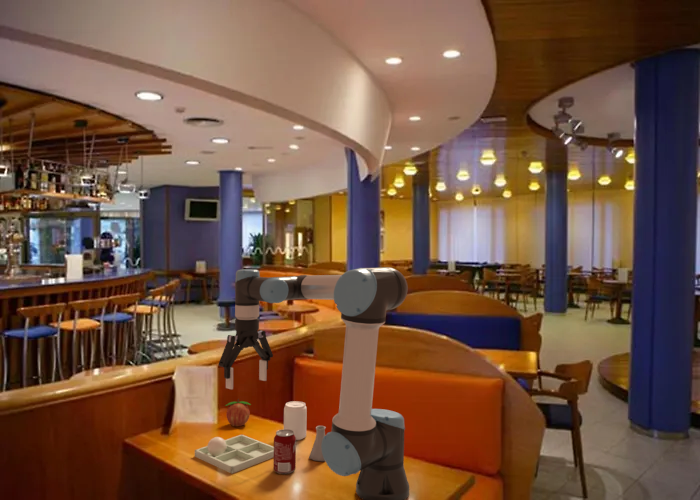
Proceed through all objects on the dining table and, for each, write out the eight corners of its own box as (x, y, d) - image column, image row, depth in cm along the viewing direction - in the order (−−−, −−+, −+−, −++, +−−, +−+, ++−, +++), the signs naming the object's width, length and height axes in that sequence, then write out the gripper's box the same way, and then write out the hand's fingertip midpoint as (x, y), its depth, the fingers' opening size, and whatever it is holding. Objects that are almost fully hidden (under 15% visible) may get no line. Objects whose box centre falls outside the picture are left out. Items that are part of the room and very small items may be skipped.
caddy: (279, 457, 180) (279, 448, 180) (231, 476, 166) (232, 467, 166) (241, 443, 193) (241, 434, 193) (194, 459, 178) (194, 450, 178)
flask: (304, 459, 180) (305, 428, 180) (316, 451, 187) (316, 422, 186) (324, 463, 177) (324, 432, 176) (335, 455, 183) (335, 426, 183)
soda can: (291, 476, 167) (292, 437, 166) (270, 474, 168) (270, 435, 168) (298, 467, 173) (298, 429, 173) (277, 465, 175) (278, 427, 174)
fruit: (248, 429, 207) (249, 402, 206) (222, 429, 206) (223, 402, 206) (251, 421, 215) (252, 395, 215) (226, 421, 215) (227, 395, 215)
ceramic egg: (230, 455, 179) (230, 437, 179) (214, 461, 175) (214, 442, 174) (218, 450, 183) (219, 432, 183) (203, 456, 178) (203, 437, 178)
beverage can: (280, 435, 201) (281, 402, 201) (301, 432, 205) (302, 399, 204) (287, 442, 194) (288, 408, 194) (309, 439, 197) (310, 406, 197)
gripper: (268, 313, 188) (268, 375, 189) (207, 320, 169) (206, 390, 170) (283, 315, 183) (283, 378, 184) (222, 323, 164) (222, 394, 165)
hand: (246, 384), depth 177 cm, fingers open, 13 cm apart
